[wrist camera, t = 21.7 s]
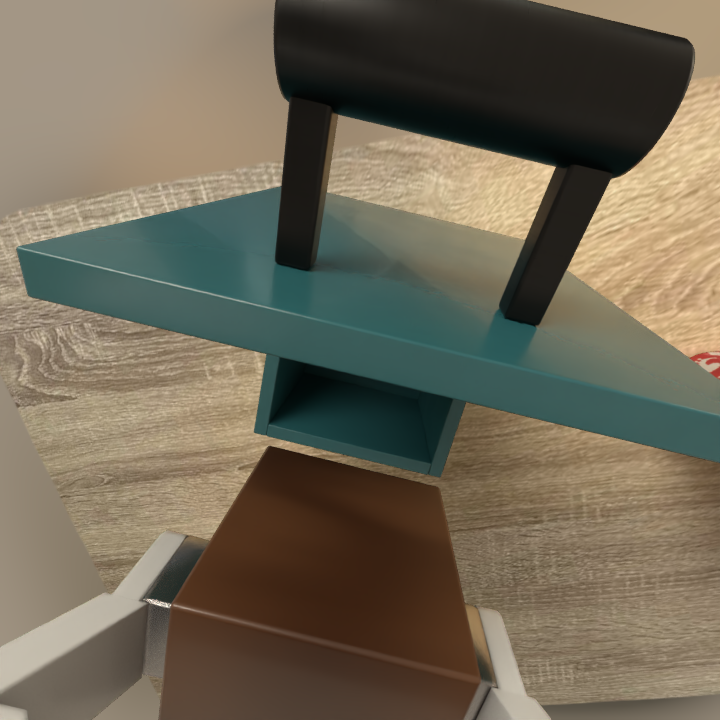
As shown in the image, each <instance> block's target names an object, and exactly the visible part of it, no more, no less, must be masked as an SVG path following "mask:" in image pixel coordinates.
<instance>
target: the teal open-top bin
mask: <svg viewBox="0 0 720 720" xmlns="http://www.w3.org/2000/svg"><path fill="white" fill-rule="evenodd" d="M465 404H466V402H464V401H460V400H456V399H452V398H447V397H443V396H439V395H435V394H431V393H427V392H422V391H418V390H414V389H410V388H406V387H402V386H398V385H393V384H389V383H385V382H381V381H377V380H373V379H368V378H364V377H360V376H356V375H352V374H348V373H344V372H339V371H335V370H331V369H327V368H323V367H319V366H314V365H310V364H306V363H302V362H298V361H294V360H290V359H285V358H281V357H277V356H273V355H269V354H266V360H265V366H264V373H263V379H262V385H261V391H260V397H259V404H258V410H257V416H256V422H255V428H254V433H257V434H261V435H267V436H269V437H273V438H277V439H281V440H285V441H289V442H294V443H298V444H302V445H306V446H310V447H314V448H318V449H323V450H327V451H331V452H335V453H339V454H343V455H347V456H352V457H356V458H360V459H364V460H368V461H372V462H377V463H381V464H385V465H389V466H393V467H397V468H401V469H406V470H410V471H414V472H418V473H422V474H426V475H428V474H429V475H431V476H436V477H441V475H442V472H443V469H444V466H445V463H446V460H447V457H448V454H449V451H450V448H451V445H452V442H453V439H454V436H455V433H456V431H457V428H458V425H459V422H460V419H461V416H462V413H463V410H464V407H465Z"/></svg>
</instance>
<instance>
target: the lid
mask: <svg viewBox="0 0 720 720" xmlns="http://www.w3.org/2000/svg"><path fill="white" fill-rule="evenodd" d="M274 57H275V66H276V74H277V80H278V84H279V88H280V91H281V94H282V95H283V97H284V99H286V100H287V101H288V102H289V112H288V122H287V133H286V144H285V155H284V165H283V175H282V186H280V187H276V188H271V189H267V190H263V191H258V192H254V193H250V194H245V195H241V196H236V197H232V198H228V199H223V200H219V201H215V202H210V203H206V204H201V205H197V206H193V207H188V208H184V209H180V210H175V211H171V212H166V213H162V214H158V215H153V216H149V217H145V218H140V219H136V220H131V221H127V222H123V223H118V224H114V225H110V226H105V227H101V228H96V229H92V230H88V231H83V232H79V233H75V234H70V235H66V236H61V237H57V238H53V239H48V240H44V241H40V242H35V243H31V244H26V245H22V246H18V247H17V249H16V250H17V254H18V258H19V262H20V266H21V270H22V274H23V278H24V282H25V286H26V290H27V294H28V296H29V297H32V298H36V299H40V300H44V301H49V302H53V303H57V304H61V305H65V306H69V307H74V308H78V309H82V310H86V311H90V312H94V313H98V314H103V315H107V316H111V317H115V318H119V319H123V320H128V321H132V322H136V323H140V324H144V325H148V326H152V327H157V328H161V329H165V330H169V331H173V332H177V333H182V334H186V335H190V336H194V337H198V338H202V339H206V340H211V341H215V342H219V343H223V344H227V345H231V346H236V347H240V348H244V349H248V350H252V351H256V352H260V353H265V354H269V355H273V356H277V357H281V358H285V359H290V360H294V361H298V362H302V363H306V364H310V365H314V366H319V367H323V368H327V369H331V370H335V371H339V372H344V373H348V374H352V375H356V376H360V377H364V378H368V379H373V380H377V381H381V382H385V383H389V384H393V385H398V386H402V387H406V388H410V389H414V390H418V391H422V392H427V393H431V394H435V395H439V396H443V397H447V398H452V399H456V400H460V401H464V402H468V403H472V404H476V405H481V406H485V407H489V408H493V409H497V410H501V411H506V412H510V413H514V414H518V415H522V416H526V417H530V418H535V419H539V420H543V421H547V422H551V423H555V424H560V425H564V426H568V427H572V428H576V429H580V430H584V431H589V432H593V433H597V434H601V435H605V436H609V437H614V438H618V439H622V440H626V441H630V442H634V443H638V444H643V445H647V446H651V447H655V448H659V449H663V450H668V451H672V452H676V453H680V454H684V455H688V456H692V457H697V458H701V459H705V460H709V461H713V462H717V463H720V380H719V379H718V378H716V377H715V376H713V375H712V374H711V373H709V372H708V371H707V370H705V369H704V368H702V367H701V366H700V365H698V364H697V363H695V362H694V361H693V360H691V359H690V358H688V357H687V356H686V355H684V354H683V353H681V352H680V351H679V350H677V349H676V348H675V347H673V346H672V345H670V344H669V343H668V342H666V341H665V340H663V339H662V338H661V337H659V336H658V335H656V334H655V333H654V332H652V331H651V330H649V329H648V328H647V327H645V326H644V325H642V324H641V323H640V322H638V321H637V320H636V319H634V318H633V317H631V316H630V315H629V314H627V313H626V312H624V311H623V310H622V309H620V308H619V307H617V306H616V305H615V304H613V303H612V302H610V301H609V300H608V299H606V298H605V297H604V296H602V295H601V294H599V293H598V292H597V291H595V290H594V289H592V288H591V287H590V286H588V285H587V284H585V283H584V282H583V281H581V280H580V279H578V278H577V277H576V276H574V275H573V274H572V273H570V272H569V271H567V268H568V266H569V263H570V261H571V259H572V257H573V255H574V253H575V251H576V249H577V247H578V245H579V243H580V241H581V239H582V237H583V235H584V233H585V231H586V229H587V227H588V225H589V223H590V221H591V218H592V216H593V214H594V212H595V210H596V208H597V206H598V204H599V202H600V200H601V198H602V196H603V194H604V192H605V190H606V188H607V186H608V184H609V182H610V180H611V179H612V178H617V177H620V176H622V175H624V174H625V173H627V172H628V171H630V170H631V169H632V168H634V167H635V166H636V165H637V164H638V163H639V162H640V161H641V160H642V159H643V158H644V157H645V156H646V155H647V154H648V153H649V151H650V150H651V149H652V148H653V147H654V145H655V144H656V143H657V141H658V140H659V139H660V137H661V136H662V135H663V133H664V132H665V130H666V129H667V127H668V125H669V124H670V122H671V121H672V119H673V117H674V115H675V114H676V112H677V110H678V108H679V106H680V104H681V102H682V100H683V98H684V95H685V93H686V91H687V88H688V86H689V83H690V80H691V76H692V73H693V69H694V63H695V51H694V47H693V45H692V44H691V43H690V42H689V41H688V40H687V39H685V38H682V37H678V36H674V35H669V34H666V33H661V32H657V31H653V30H648V29H645V28H641V27H636V26H632V25H628V24H624V23H620V22H615V21H611V20H607V19H603V18H599V17H595V16H590V15H586V14H582V13H578V12H574V11H570V10H565V9H561V8H557V7H553V6H548V5H544V4H540V3H536V2H532V1H528V0H276V2H275V13H274ZM338 115H342V116H346V117H350V118H355V119H359V120H363V121H367V122H372V123H376V124H380V125H384V126H388V127H392V128H396V129H400V130H405V131H409V132H413V133H417V134H421V135H425V136H430V137H434V138H438V139H442V140H446V141H451V142H455V143H459V144H463V145H467V146H471V147H476V148H480V149H484V150H488V151H492V152H496V153H501V154H505V155H509V156H513V157H517V158H521V159H526V160H530V161H534V162H538V163H542V164H546V165H551V166H555V167H556V168H555V171H554V173H553V175H552V178H551V180H550V183H549V185H548V187H547V190H546V192H545V195H544V197H543V199H542V202H541V204H540V207H539V209H538V211H537V214H536V216H535V219H534V221H533V223H532V226H531V228H530V231H529V233H528V235H527V238H526V240H523V239H518V238H514V237H510V236H506V235H502V234H498V233H493V232H489V231H485V230H481V229H477V228H473V227H468V226H464V225H460V224H456V223H452V222H448V221H443V220H439V219H435V218H431V217H427V216H423V215H418V214H414V213H410V212H406V211H402V210H398V209H393V208H389V207H385V206H381V205H377V204H373V203H368V202H364V201H360V200H356V199H352V198H348V197H343V196H339V195H335V194H331V193H327V186H328V180H329V173H330V166H331V160H332V153H333V146H334V139H335V133H336V126H337V119H338Z"/></svg>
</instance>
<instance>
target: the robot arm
mask: <svg viewBox="0 0 720 720" xmlns="http://www.w3.org/2000/svg"><path fill="white" fill-rule="evenodd" d="M209 542H210V541H209V540H205V539H202V538H198V537H194V536H191V535H186V534H182V533H178V532H175V531H171V530H166V531H164V532H163V533H161V534H160V535H159V536H158V538H157V539H156V540H155V541H154V543H153V544H152V545H151V546H150V547H149V549H148V550H147V551H146V552H145V554H144V555H143V556H142V557H141V559H140V560H139V561H138V562H137V564H136V565H135V566H134V567H133V569H132V570H131V571H130V572H129V574H128V575H127V576H126V577H125V579H124V580H123V581H122V582H121V584H120V585H119V586H118V587H117V588H116V590H115V591H114V592H113V593H112V594H110V593H103V594H101V595H99V596H97V597H95V598H93V599H91V600H90V601H87V602H85V603H83V604H82V605H80V606H78V607H76V608H74V609H72V610H70V611H68V612H66V613H64V614H63V615H61V616H59V617H57V618H55V619H53V620H51V621H49V622H47V623H45V624H43V625H41V626H40V627H38V628H36V629H34V630H32V631H30V632H28V633H26V634H24V635H22V636H20V637H19V638H17V639H15V640H13V641H11V642H9V643H7V644H5V645H3V646H1V647H0V720H92V719H93V718H95V717H96V716H97V715H98V714H99V713H100V712H102V711H103V710H104V709H105V708H106V707H108V706H109V705H110V704H111V703H112V702H113V701H115V700H116V699H117V698H118V697H119V696H121V695H122V694H123V693H124V692H125V691H126V690H128V689H129V688H130V687H131V686H132V685H134V684H135V683H136V682H137V681H138V680H139V679H141V677H142V674H144V675H148V676H153V677H158V678H163V673H164V663H165V654H166V645H167V635H168V626H169V617H170V608H171V603H172V602H173V600H174V599H175V597H176V595H177V594H178V592H179V590H180V589H181V587H182V586H183V584H184V582H185V581H186V579H187V577H188V576H189V574H190V573H191V571H192V569H193V568H194V566H195V564H196V563H197V561H198V559H199V558H200V556H201V555H202V553H203V551H204V550H205V548H206V546H207V545H208V543H209ZM465 607H466V611H467V616H468V621H469V625H470V630H471V634H472V639H473V644H474V648H475V653H476V657H477V662H478V667H479V671H480V676H481V685H480V687H479V689H478V691H477V694H476V696H475V698H474V700H473V702H472V704H471V706H470V708H469V711H468V713H467V715H466V717H465V719H464V720H552V719H551V718H550V716H549V715H548V714H547V713H546V711H545V710H544V709H543V708H542V706H541V705H540V704H539V703H538V701H537V700H536V699H535V698H533V697H529V696H527V693H526V690H525V687H524V684H523V681H522V677H521V674H520V671H519V668H518V665H517V662H516V659H515V656H514V653H513V649H512V646H511V643H510V640H509V637H508V634H507V631H506V628H505V624H504V621H503V618H502V616H501V614H500V613H499V612H498V611H497V610H493V609H488V608H484V607H480V606H476V605H475V606H474V605H472V604H468V603H465Z"/></svg>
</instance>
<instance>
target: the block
mask: <svg viewBox="0 0 720 720" xmlns="http://www.w3.org/2000/svg"><path fill="white" fill-rule="evenodd" d="M480 685H481V676H480V671H479V667H478V662H477V657H476V653H475V648H474V644H473V639H472V634H471V630H470V625H469V621H468V616H467V611H466V607H465V602H464V598H463V593H462V588H461V584H460V579H459V574H458V570H457V565H456V561H455V556H454V551H453V547H452V542H451V538H450V533H449V528H448V524H447V519H446V514H445V510H444V505H443V501H442V496H441V491H440V488H438V487H436V486H431V485H427V484H423V483H419V482H415V481H411V480H407V479H403V478H399V477H395V476H391V475H387V474H383V473H378V472H374V471H370V470H366V469H362V468H358V467H354V466H350V465H346V464H342V463H338V462H334V461H330V460H325V459H321V458H317V457H313V456H309V455H305V454H301V453H297V452H293V451H289V450H285V449H281V448H277V447H273V446H268V447H267V449H266V450H265V452H264V453H263V455H262V457H261V458H260V460H259V462H258V463H257V465H256V467H255V468H254V470H253V471H252V473H251V475H250V476H249V478H248V480H247V481H246V483H245V484H244V486H243V488H242V489H241V491H240V493H239V494H238V496H237V498H236V499H235V501H234V502H233V504H232V506H231V507H230V509H229V511H228V512H227V514H226V515H225V517H224V519H223V520H222V522H221V524H220V525H219V527H218V528H217V530H216V532H215V533H214V535H213V537H212V538H211V540H210V542H209V543H208V545H207V546H206V548H205V550H204V551H203V553H202V555H201V556H200V558H199V559H198V561H197V563H196V564H195V566H194V568H193V569H192V571H191V573H190V574H189V576H188V577H187V579H186V581H185V582H184V584H183V586H182V587H181V589H180V590H179V592H178V594H177V595H176V597H175V599H174V600H173V602H172V603H171V608H170V617H169V626H168V635H167V645H166V654H165V663H164V673H163V682H162V691H161V700H160V710H159V719H158V720H464V719H465V717H466V715H467V713H468V711H469V708H470V706H471V704H472V702H473V700H474V698H475V696H476V694H477V691H478V689H479V687H480Z"/></svg>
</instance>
